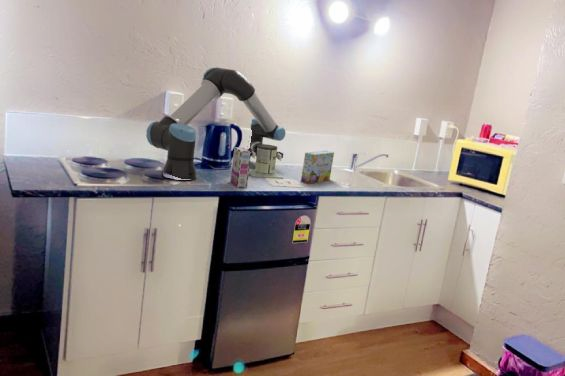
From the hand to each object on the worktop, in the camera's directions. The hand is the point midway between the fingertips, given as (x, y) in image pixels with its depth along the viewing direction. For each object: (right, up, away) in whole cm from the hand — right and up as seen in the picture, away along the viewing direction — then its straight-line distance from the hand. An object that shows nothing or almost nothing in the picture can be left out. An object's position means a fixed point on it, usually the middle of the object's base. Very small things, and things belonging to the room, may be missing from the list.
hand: (267, 156), depth 247 cm
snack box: (+24, -12, +5) cm, 28 cm away
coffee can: (-2, -8, +5) cm, 10 cm away
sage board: (-2, -8, +5) cm, 10 cm away
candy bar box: (-12, -14, -25) cm, 31 cm away
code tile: (+8, -13, -9) cm, 18 cm away
